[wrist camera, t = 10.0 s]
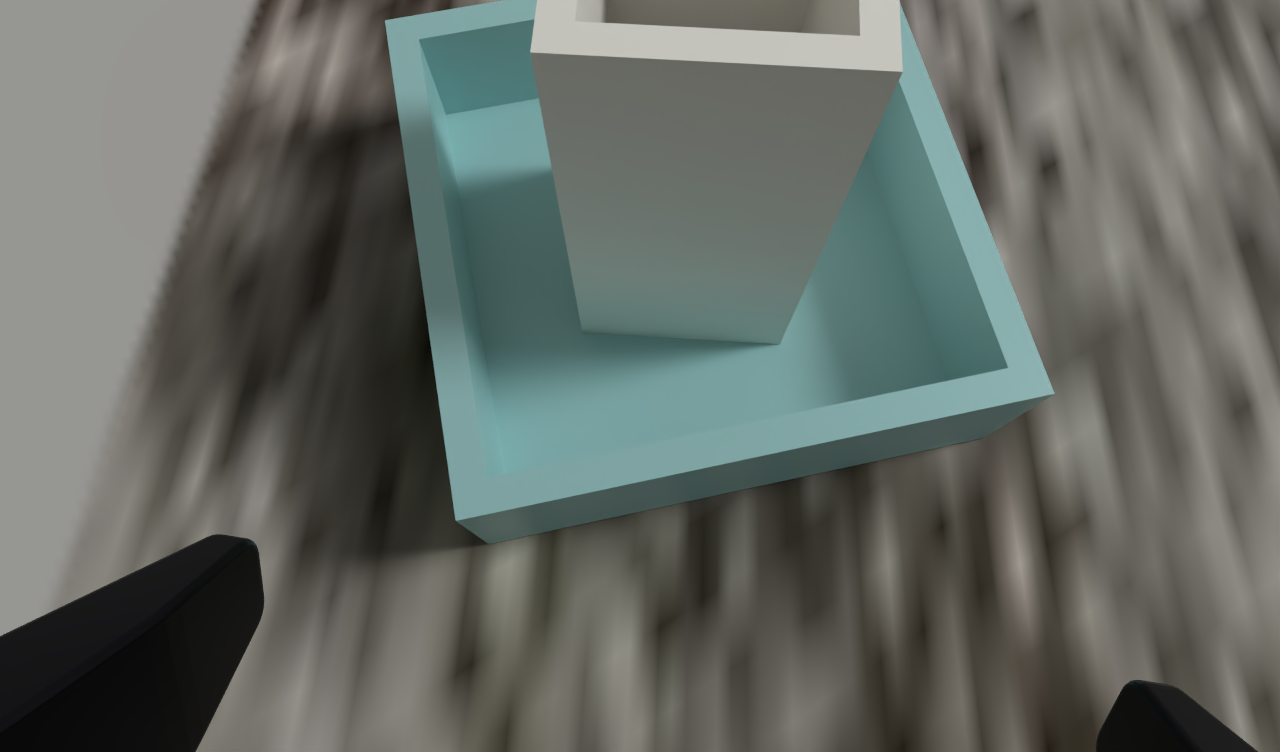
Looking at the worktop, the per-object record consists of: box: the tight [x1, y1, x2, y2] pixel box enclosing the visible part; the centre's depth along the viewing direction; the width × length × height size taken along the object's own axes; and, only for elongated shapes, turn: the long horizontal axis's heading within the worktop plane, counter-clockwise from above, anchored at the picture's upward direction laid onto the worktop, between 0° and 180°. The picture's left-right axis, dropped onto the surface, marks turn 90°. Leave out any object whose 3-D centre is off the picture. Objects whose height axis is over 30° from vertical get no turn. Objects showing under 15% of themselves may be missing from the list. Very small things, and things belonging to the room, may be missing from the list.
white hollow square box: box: [530, 0, 903, 344], centre depth 18 cm, size 5×5×11 cm
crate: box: [385, 0, 1054, 544], centre depth 22 cm, size 14×14×4 cm
